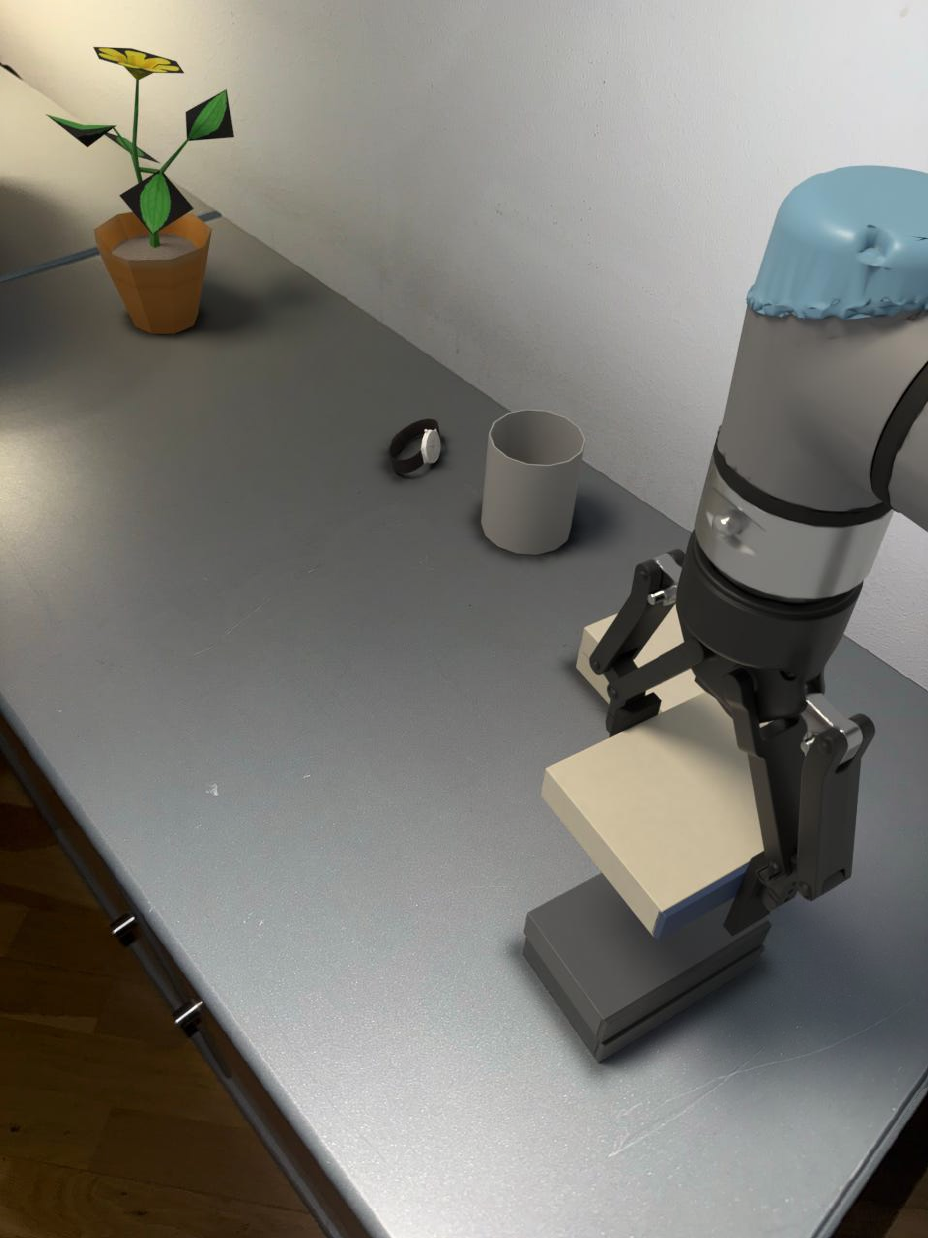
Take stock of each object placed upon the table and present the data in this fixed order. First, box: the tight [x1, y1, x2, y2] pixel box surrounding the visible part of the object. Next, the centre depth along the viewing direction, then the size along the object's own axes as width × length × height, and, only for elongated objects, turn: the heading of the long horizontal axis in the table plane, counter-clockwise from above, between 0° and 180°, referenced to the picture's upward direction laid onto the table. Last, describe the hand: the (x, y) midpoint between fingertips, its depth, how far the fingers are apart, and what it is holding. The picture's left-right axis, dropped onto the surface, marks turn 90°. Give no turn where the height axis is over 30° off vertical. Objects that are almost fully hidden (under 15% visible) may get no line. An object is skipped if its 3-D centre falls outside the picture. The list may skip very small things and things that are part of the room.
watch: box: [387, 418, 441, 474], centre depth 107 cm, size 8×5×4 cm, turn 159°
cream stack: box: [575, 604, 705, 714], centre depth 87 cm, size 10×13×5 cm
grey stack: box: [522, 872, 773, 1063], centre depth 70 cm, size 9×13×5 cm, turn 122°
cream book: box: [540, 692, 770, 941], centre depth 59 cm, size 10×13×2 cm
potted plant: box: [45, 46, 235, 335], centre depth 114 cm, size 18×19×30 cm
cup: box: [480, 409, 586, 556], centre depth 98 cm, size 8×8×10 cm
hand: (680, 844), depth 62 cm, fingers closed on cream book, 10 cm apart
